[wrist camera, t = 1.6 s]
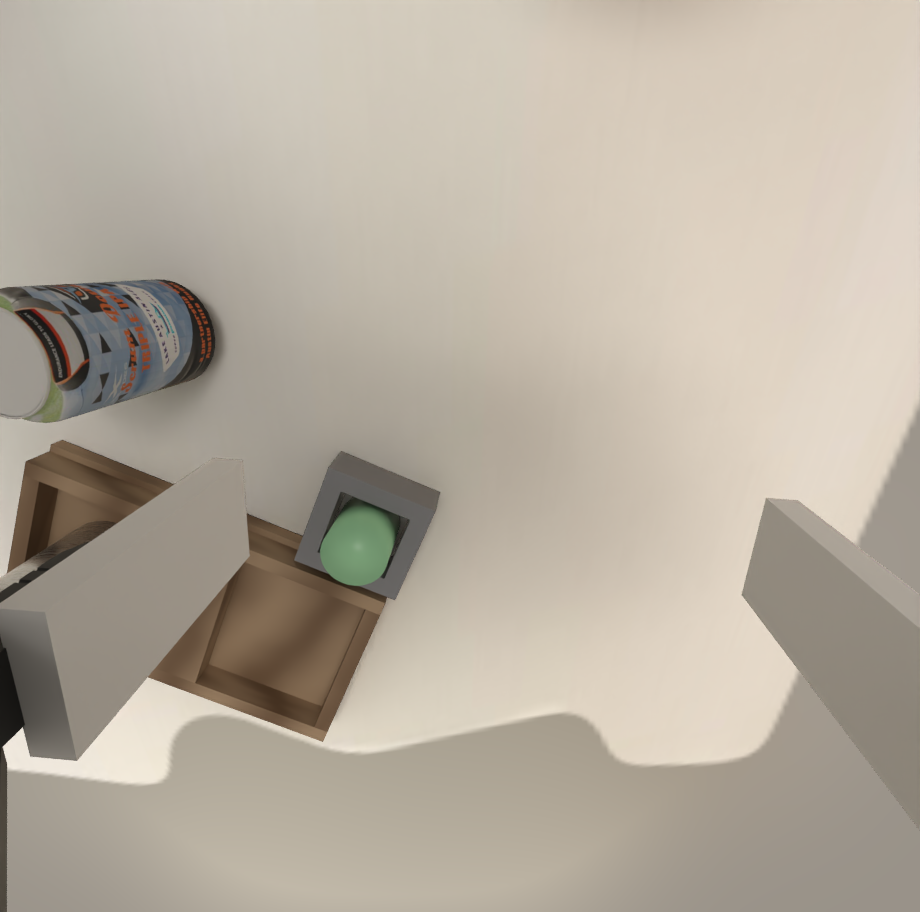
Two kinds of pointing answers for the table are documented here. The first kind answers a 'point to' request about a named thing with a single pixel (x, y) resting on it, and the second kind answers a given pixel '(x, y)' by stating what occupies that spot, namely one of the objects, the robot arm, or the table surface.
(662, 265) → the table surface
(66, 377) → the beverage can
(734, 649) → the table surface
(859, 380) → the table surface
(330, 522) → the button housing
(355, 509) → the button
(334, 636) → the wooden divided tray
